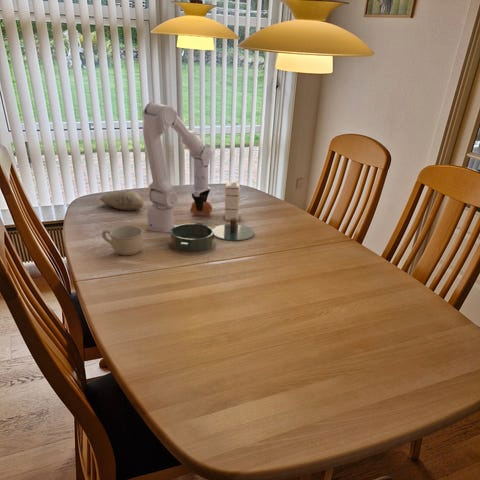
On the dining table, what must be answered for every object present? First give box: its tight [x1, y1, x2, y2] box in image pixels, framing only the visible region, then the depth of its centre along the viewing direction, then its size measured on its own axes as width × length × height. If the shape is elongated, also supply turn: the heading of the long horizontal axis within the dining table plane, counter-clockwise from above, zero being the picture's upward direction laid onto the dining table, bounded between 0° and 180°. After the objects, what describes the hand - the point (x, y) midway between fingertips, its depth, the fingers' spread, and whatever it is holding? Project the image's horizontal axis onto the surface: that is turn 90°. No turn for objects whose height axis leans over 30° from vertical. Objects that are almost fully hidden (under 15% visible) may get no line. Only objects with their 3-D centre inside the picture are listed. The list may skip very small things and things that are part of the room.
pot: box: [169, 222, 215, 254], centre depth 158 cm, size 15×21×6 cm
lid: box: [212, 218, 255, 242], centre depth 169 cm, size 16×16×6 cm
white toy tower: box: [224, 181, 241, 221], centre depth 181 cm, size 6×6×14 cm
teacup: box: [101, 224, 144, 256], centre depth 150 cm, size 14×11×8 cm
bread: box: [190, 201, 213, 216], centre depth 184 cm, size 8×5×4 cm, turn 79°
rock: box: [99, 190, 145, 211], centre depth 188 cm, size 8×11×20 cm
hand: (201, 208), depth 184 cm, fingers closed on bread, 4 cm apart
